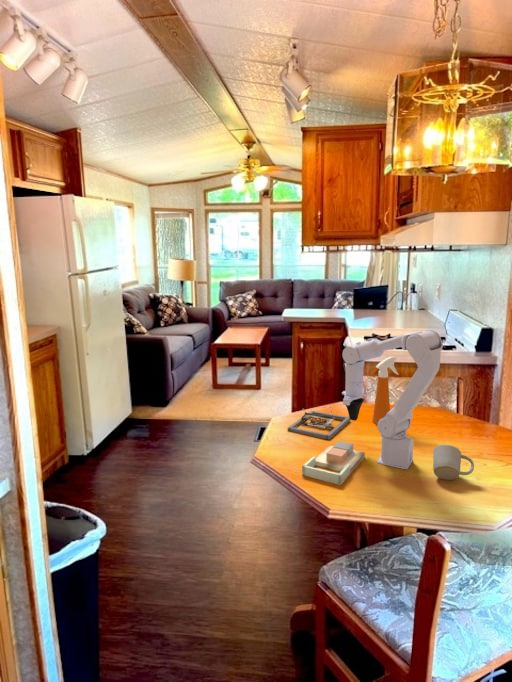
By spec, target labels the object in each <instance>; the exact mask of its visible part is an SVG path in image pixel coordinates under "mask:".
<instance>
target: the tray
mask: <svg viewBox="0 0 512 682" xmlns="http://www.w3.org/2000/svg"><path fill="white" fill-rule="evenodd" d="M316 458H317V456H315V455H313V456H312V457H311V458H309V460H308V461H306V462H305V463H304V464H303V465H302V468H301V469H302V470H301V472H302V473H301V475H302V476H305V477H309V478H313V479H316V480H320V481H323V482H327V483H329V484H330V483H331V484H335V485H339V486H341V485H342V484H343V483H344V482H345V481H346V480H347V479H348V477H349V476H350V475H351V474H350V464H347V465H346V466H345V468H344V469H343V470H342V471H341V472H340V471H339V472H333V471H330V470H329V471H328V470H325V469H321V468H318V467H317V468H316Z"/></svg>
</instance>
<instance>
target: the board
mask: <svg viewBox="0 0 512 682" xmlns="http://www.w3.org/2000/svg"><path fill="white" fill-rule="evenodd" d="M333 446H334V445H331V444H330V445H329V446H327V447H326V448H325V449H324V450H323V451H322V452H321V453H320V454H319V455H318V456H316V466H317V467H320V468H325V469H329V470H333V471H336V472H339V473H340V472H341V471H342V470H343V469H344V468H345V466H346V465H347V464H350V475H351V474H352V472H354V470H355V469H356V468H357V467H358V466H359V465H360V463H361V462H362V461H363V460H364V459H365V456H366V452H364V451H360V450H355V449H353V452H352V453H351V454H350V456H349V457H347V459H346V460H345V461H344V462H343V463H342V464H339V463H335V462H331V461H326V453H327V452H328V451H329V450H330V449H331V448H332V447H333ZM316 466H315V467H316Z"/></svg>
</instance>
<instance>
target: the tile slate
mask: <svg viewBox="0 0 512 682" xmlns="http://www.w3.org/2000/svg"><path fill="white" fill-rule="evenodd" d="M332 446H333V447H334V448H339V449H343V450H348V451H347V457H349V456H350V454H351V453H352V452H353V450H354V444H353V443H349V442H344V441H341V440H340V441H338V442H336V444H334V445H332Z"/></svg>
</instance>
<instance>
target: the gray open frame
mask: <svg viewBox="0 0 512 682" xmlns="http://www.w3.org/2000/svg"><path fill="white" fill-rule="evenodd" d="M308 413H311V414H316V415H323V416H327V417H335V418H334V420H335V419H338V420H337V421H340V420H343V421H340V422H339V423H338V424H337V425H336V426H335V427H334V428H333V429H332V430H330V431H329V432H328V433H323V432H317V431H313V430H307V429H303V428H298V426H297V425H299V424H300V423H302V422H303V420H302V421H301V418H299V419H297V420H296V421H295V422H294V423H292V424H291V425H289V426H288V427H287V431H288V430H290V431H289V432H291V431H294V432H293V433H296V432H299V433H298V434H300V433H303V434H302V435H305V434H307V435H306V436H309V435H311V437H314V436H315V438H318V437H319V439H323V438H324V440H327V439H328V440H329V439H330V438H331V439H333V437H335V436H336V435H337V434H338V433H339V432H340V431H341V430H342V429H343V428H344V427H346V426H347V425H348V424H349V423H350V422H351V420H350V417H349V416H347V415H345V416H344V415H339V414H338V415H337V414H333V413H328V412H322V411H317V410H310V411H309V412H308ZM304 415H305V414H304ZM305 417H306V418H308V417H307V416H306V415H305ZM305 417H304V418H305ZM348 422H349V423H348ZM303 423H304V422H303ZM303 423H302V424H303ZM347 423H348V424H347ZM346 424H347V425H346ZM300 425H301V424H300ZM300 425H299V426H300ZM345 425H346V426H345ZM296 426H297V427H296ZM295 427H296V428H295ZM340 429H341V430H340ZM339 430H340V431H339ZM338 431H339V432H338ZM337 432H338V433H337ZM331 439H330V440H331ZM330 440H329V441H330Z"/></svg>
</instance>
